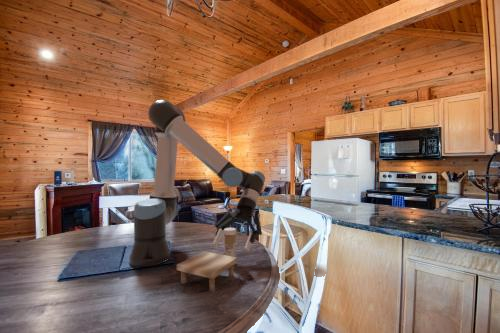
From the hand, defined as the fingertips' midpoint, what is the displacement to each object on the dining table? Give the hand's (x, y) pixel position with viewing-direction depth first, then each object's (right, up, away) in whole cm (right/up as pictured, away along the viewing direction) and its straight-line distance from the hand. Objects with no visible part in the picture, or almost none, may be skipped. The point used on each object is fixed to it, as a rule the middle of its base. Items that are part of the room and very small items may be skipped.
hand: (230, 247), depth 94 cm
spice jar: (0, -7, +1) cm, 7 cm away
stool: (-6, -7, -12) cm, 15 cm away
